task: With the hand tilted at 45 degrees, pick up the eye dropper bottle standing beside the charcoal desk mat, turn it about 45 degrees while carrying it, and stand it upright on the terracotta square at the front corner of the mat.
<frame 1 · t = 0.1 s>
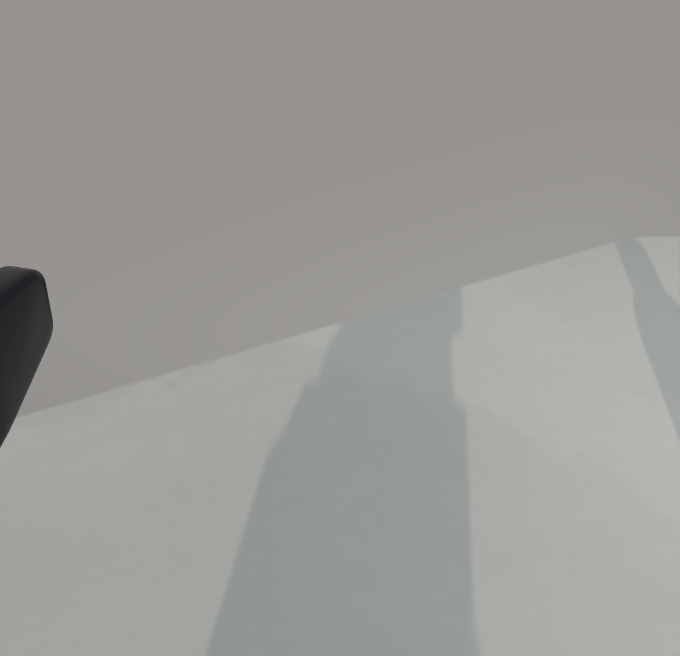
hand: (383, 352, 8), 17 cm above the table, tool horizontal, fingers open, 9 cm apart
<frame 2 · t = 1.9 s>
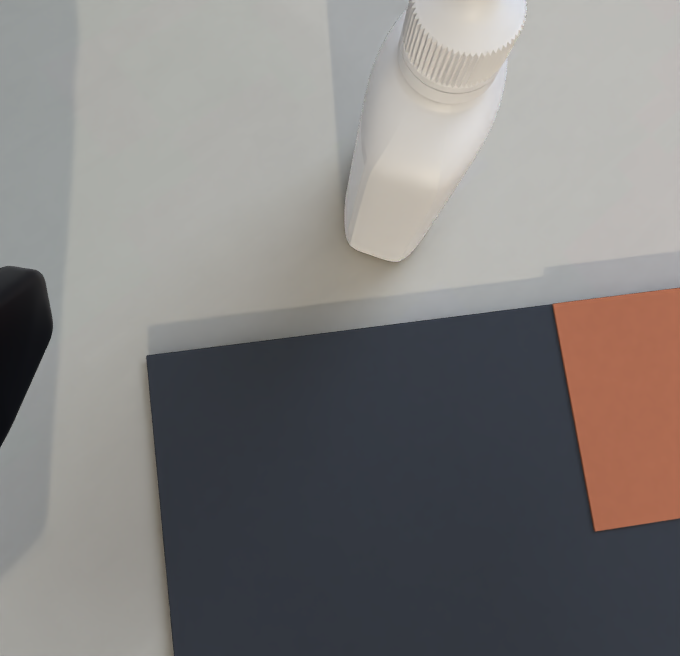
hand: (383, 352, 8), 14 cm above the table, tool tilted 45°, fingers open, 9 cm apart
desk mat: (516, 602, 21), on the table
eye dropper bottle: (394, 192, 23), on the table
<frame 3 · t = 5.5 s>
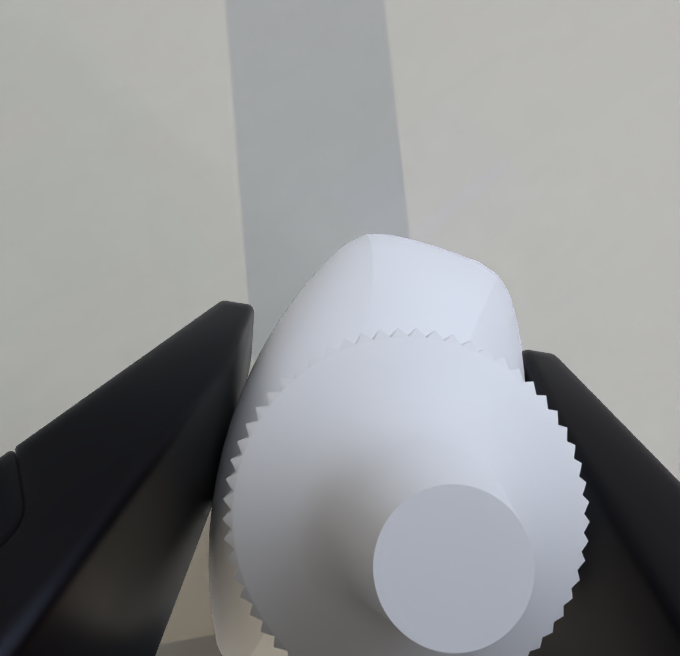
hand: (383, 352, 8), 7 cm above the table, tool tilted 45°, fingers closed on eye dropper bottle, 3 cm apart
eye dropper bottle: (345, 434, 15), on the table, touching gripper
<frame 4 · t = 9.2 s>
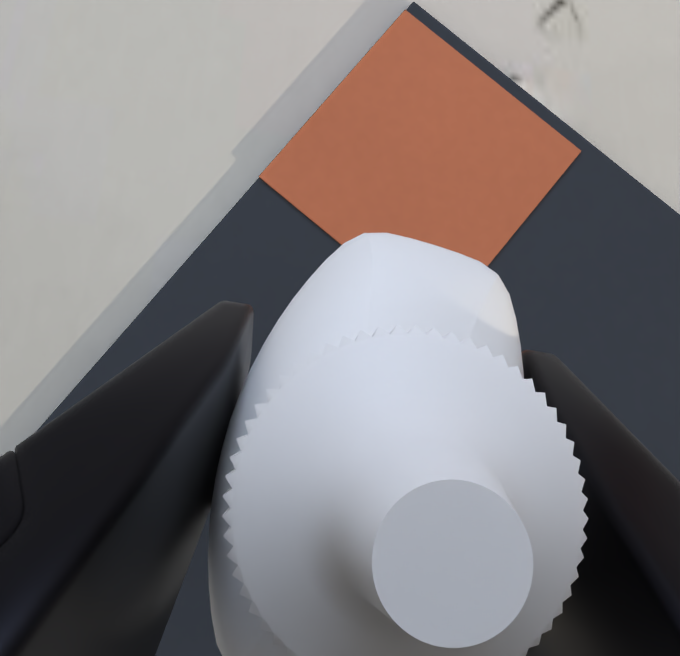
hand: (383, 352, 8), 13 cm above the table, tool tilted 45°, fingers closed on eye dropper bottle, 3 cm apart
desk mat: (427, 431, 21), on the table
eye dropper bottle: (344, 433, 15), point 6 cm above the table, touching gripper
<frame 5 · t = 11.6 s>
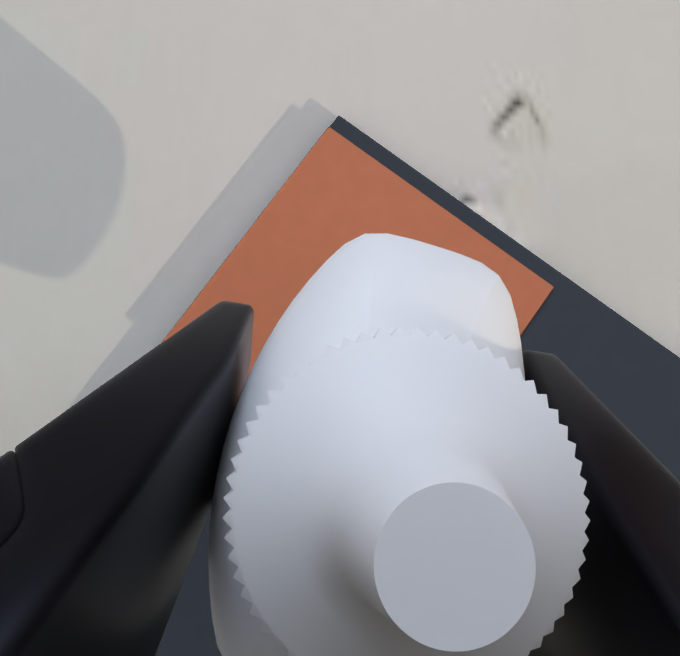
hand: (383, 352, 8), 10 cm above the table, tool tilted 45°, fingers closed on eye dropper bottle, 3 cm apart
desk mat: (386, 653, 17), on the table
eye dropper bottle: (345, 434, 15), point 3 cm above the table, touching gripper
when the fingers open (7 cm above the table, at t = 13.1 s): eye dropper bottle stays where it is, resting on desk mat.
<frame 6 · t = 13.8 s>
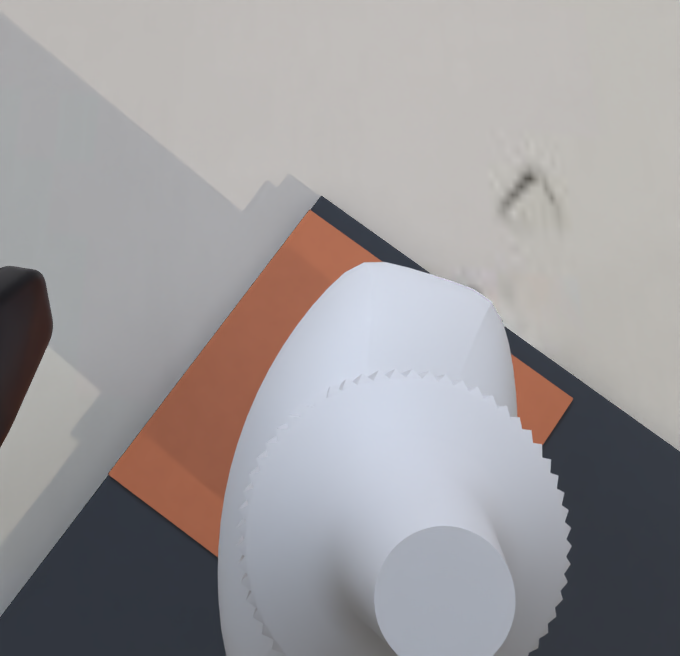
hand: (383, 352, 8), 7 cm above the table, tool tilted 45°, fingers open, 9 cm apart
eye dropper bottle: (345, 444, 15), resting on desk mat
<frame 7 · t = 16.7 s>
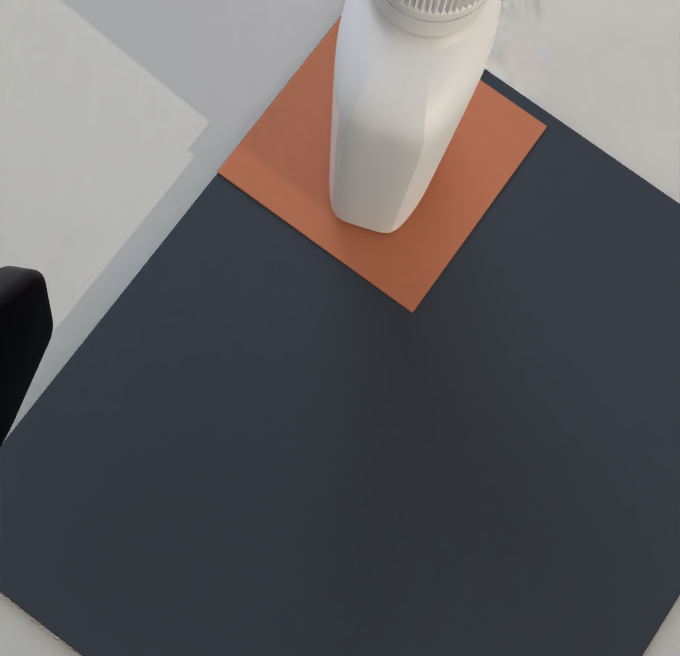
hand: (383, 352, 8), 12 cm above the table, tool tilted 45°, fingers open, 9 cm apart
desk mat: (407, 423, 20), on the table
eye dropper bottle: (384, 156, 21), resting on desk mat
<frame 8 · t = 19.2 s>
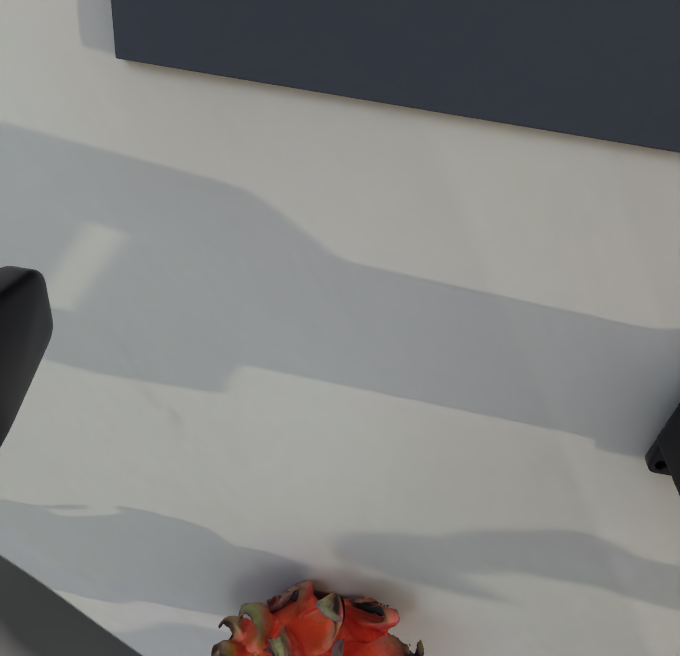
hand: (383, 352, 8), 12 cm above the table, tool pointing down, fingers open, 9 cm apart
dragon fruit: (319, 595, 35), on the table
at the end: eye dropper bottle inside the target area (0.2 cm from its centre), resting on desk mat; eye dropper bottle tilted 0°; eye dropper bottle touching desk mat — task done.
